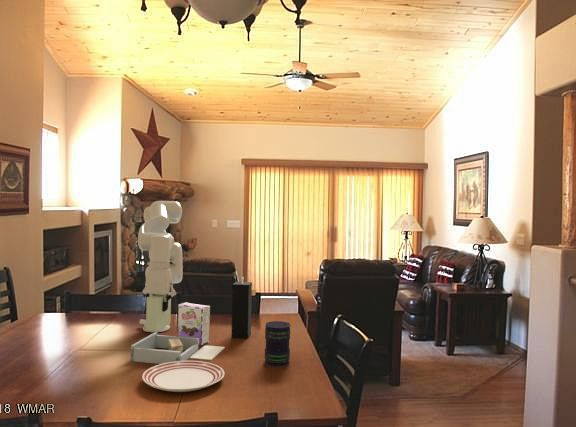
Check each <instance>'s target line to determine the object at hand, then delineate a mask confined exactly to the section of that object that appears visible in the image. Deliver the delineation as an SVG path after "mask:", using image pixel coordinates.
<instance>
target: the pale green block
mask: <svg viewBox="0 0 576 427" xmlns="http://www.w3.org/2000/svg"><path fill="white" fill-rule="evenodd" d="M170 294H171V293H169V295H170ZM163 302H164V299H163V295H158V294H155V295H152V296H150V297H148V298H147V297H146V309H145V310H146V312H145V316H146V318H145V320H146V331H154V332H153V333H155V332H157V331H159V330H160V329H162V328H164V327H165V326H167V325H171V319H172V318H171V316H172V315H171V314H172V313H171V312H172V309H171V308H172V298H171V299H170V300H168V309H167V310H166V311H165V312H163V311H162V305H163ZM146 331H145V332H146ZM157 333H158V332H157Z"/></svg>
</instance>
